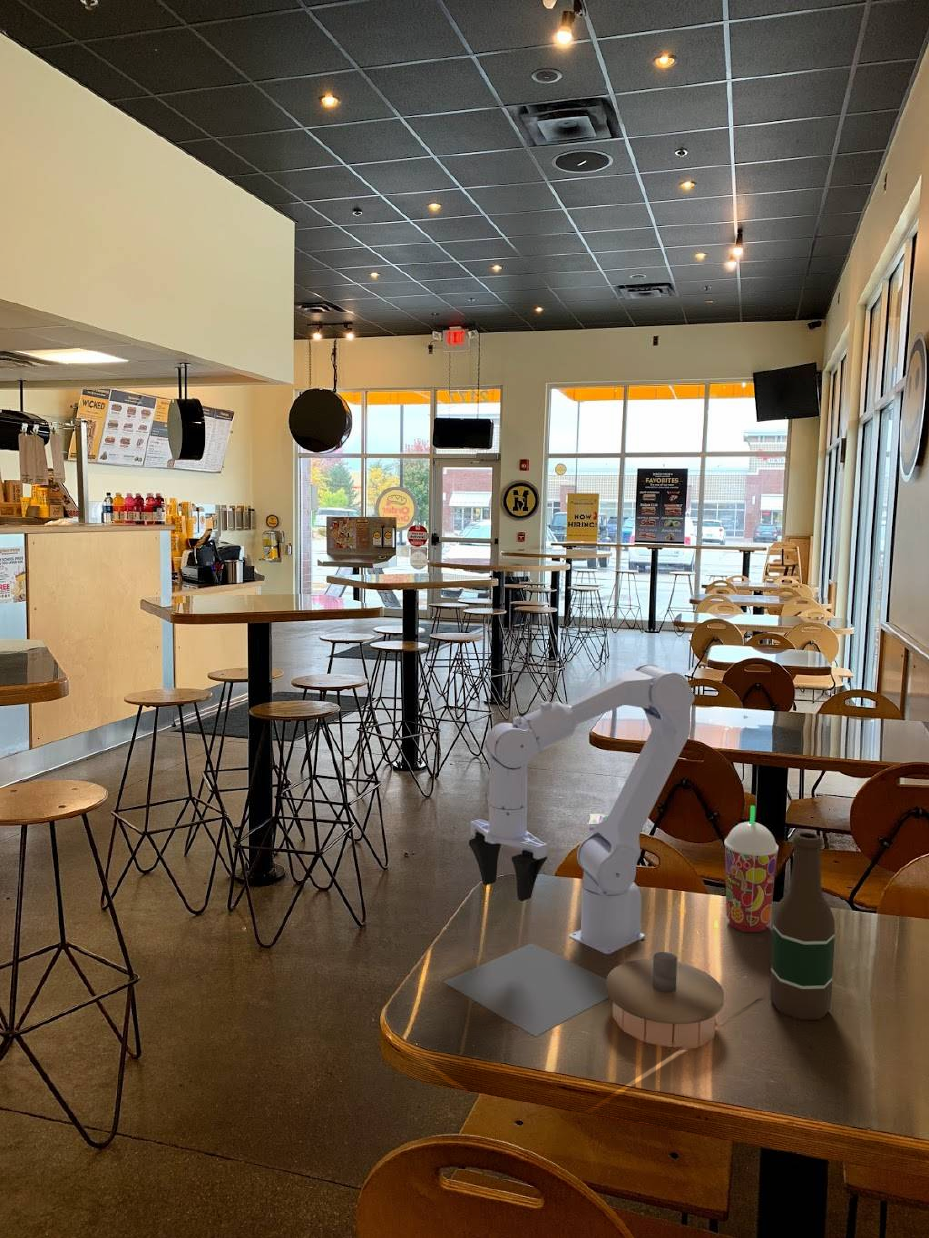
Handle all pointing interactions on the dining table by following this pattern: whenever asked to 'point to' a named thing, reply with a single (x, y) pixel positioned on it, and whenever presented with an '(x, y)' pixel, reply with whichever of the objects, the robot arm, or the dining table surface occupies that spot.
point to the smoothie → (750, 875)
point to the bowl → (666, 1030)
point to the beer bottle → (803, 938)
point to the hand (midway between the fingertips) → (506, 890)
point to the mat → (532, 988)
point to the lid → (665, 990)
